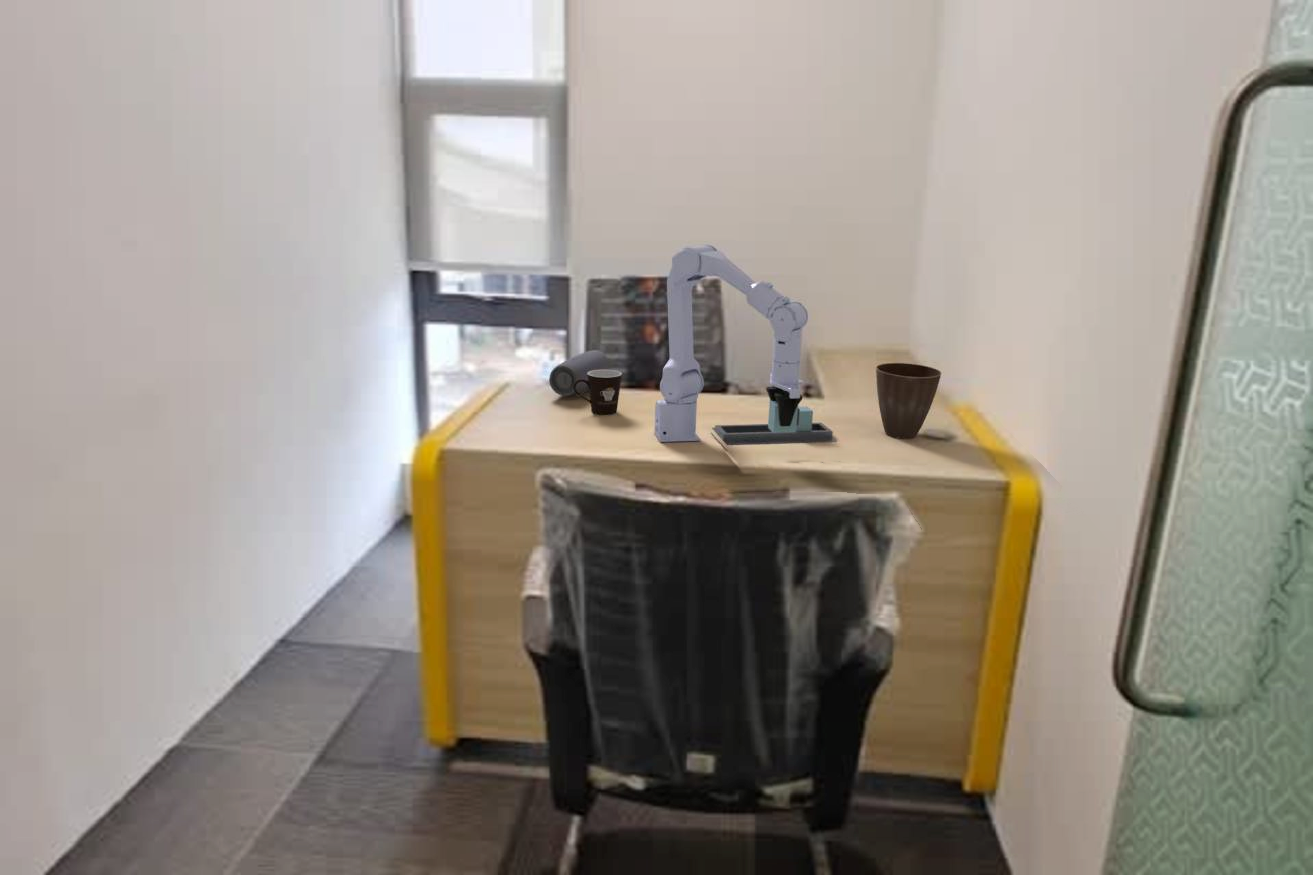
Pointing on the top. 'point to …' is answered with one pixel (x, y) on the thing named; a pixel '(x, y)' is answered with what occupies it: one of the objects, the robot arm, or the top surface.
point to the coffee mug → (602, 391)
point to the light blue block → (805, 419)
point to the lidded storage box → (774, 420)
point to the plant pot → (905, 396)
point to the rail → (770, 435)
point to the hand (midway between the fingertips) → (781, 422)
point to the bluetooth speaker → (577, 372)
